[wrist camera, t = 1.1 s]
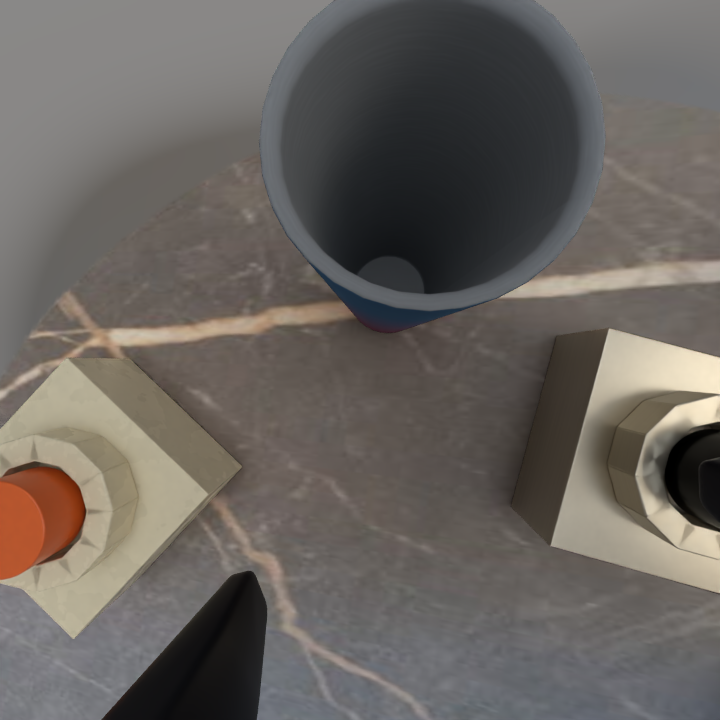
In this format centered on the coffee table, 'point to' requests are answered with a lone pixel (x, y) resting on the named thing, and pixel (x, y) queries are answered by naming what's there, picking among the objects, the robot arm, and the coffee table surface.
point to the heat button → (691, 471)
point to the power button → (37, 517)
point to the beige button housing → (111, 479)
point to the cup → (431, 151)
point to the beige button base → (620, 454)
